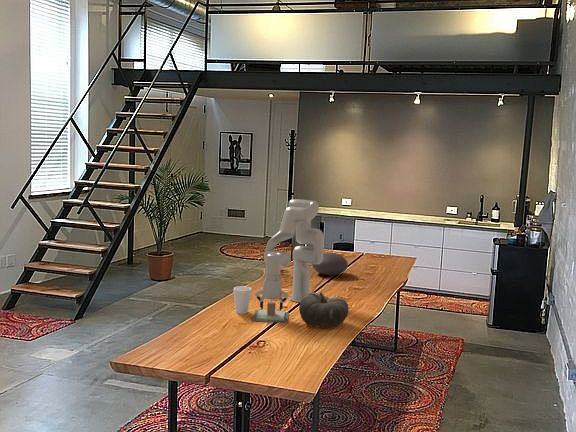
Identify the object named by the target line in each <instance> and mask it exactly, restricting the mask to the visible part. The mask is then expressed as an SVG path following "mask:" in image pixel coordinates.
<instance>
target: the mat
mask: <svg viewBox="0 0 576 432" xmlns="http://www.w3.org/2000/svg"><path fill="white" fill-rule="evenodd" d="M259 310H260V309H259ZM259 310H254V312H253V313H254V314H253V318H252V320H251V321H252V322H261V323H262V322H263V323H277V324H278V323H281V324H288V323H289V322H288V321H289V315H290V314H289V311H285V316H284V321H280V320H261V319H257V315H258V311H259Z"/></svg>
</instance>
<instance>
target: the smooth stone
mask: <svg viewBox="0 0 576 432" xmlns="http://www.w3.org/2000/svg"><path fill="white" fill-rule="evenodd" d="M311 266H312V268H313V270H314V271H316V272H317V273H319V274H321V275H325V276H337V275H340V274H343V273H344V272H345V271H346V270H347V269H348V266H349V263H348V260H347V258H345V257H344V256H342V255H340V254H338V253H333V252H323V260H322V262H321V263H320V264H311Z"/></svg>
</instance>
